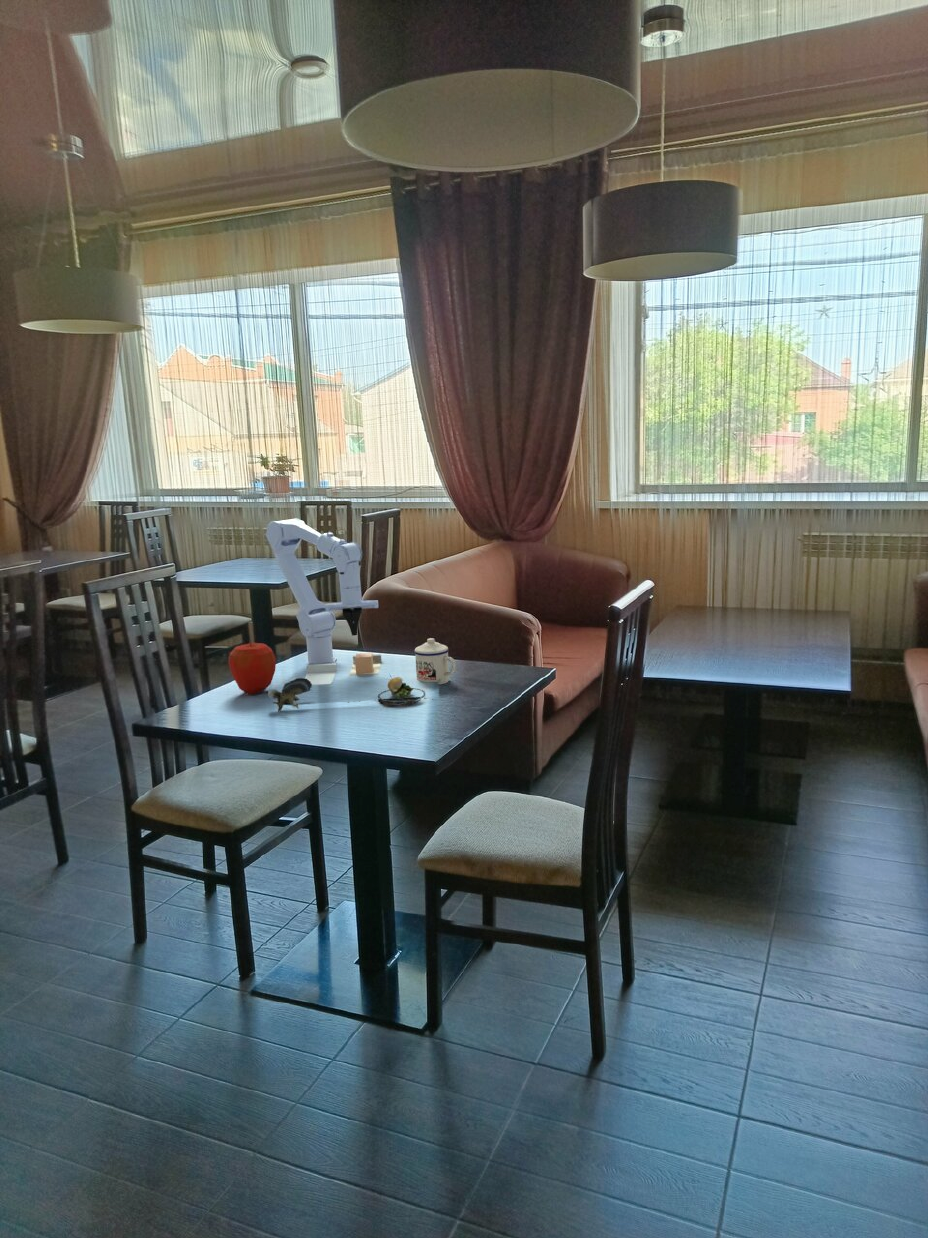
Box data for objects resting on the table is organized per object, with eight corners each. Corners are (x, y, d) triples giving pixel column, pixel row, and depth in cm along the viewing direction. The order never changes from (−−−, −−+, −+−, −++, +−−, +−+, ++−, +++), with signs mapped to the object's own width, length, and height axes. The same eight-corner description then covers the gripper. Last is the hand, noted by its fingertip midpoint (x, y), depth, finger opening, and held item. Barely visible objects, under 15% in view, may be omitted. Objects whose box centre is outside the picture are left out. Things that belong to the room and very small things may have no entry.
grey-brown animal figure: (298, 709, 208) (319, 691, 216) (278, 684, 207) (301, 667, 216) (278, 723, 212) (300, 705, 221) (259, 698, 212) (281, 681, 220)
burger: (418, 708, 209) (417, 678, 208) (371, 707, 212) (369, 678, 210) (430, 694, 221) (428, 665, 219) (385, 693, 223) (383, 665, 222)
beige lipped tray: (353, 665, 251) (353, 655, 250) (381, 664, 251) (381, 654, 250) (349, 678, 237) (348, 668, 236) (378, 677, 237) (378, 666, 237)
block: (357, 669, 242) (356, 653, 242) (373, 668, 243) (372, 652, 242) (356, 673, 238) (354, 657, 237) (372, 672, 238) (371, 656, 237)
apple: (272, 698, 223) (267, 644, 220) (226, 700, 223) (220, 646, 220) (283, 685, 235) (278, 634, 232) (239, 686, 235) (234, 636, 232)
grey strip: (308, 675, 243) (307, 664, 242) (337, 673, 243) (336, 663, 242) (301, 689, 229) (300, 678, 228) (331, 687, 229) (330, 676, 229)
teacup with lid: (409, 683, 230) (406, 641, 228) (429, 675, 237) (427, 633, 235) (445, 689, 223) (443, 645, 221) (466, 680, 230) (463, 637, 228)
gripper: (322, 591, 237) (327, 639, 240) (375, 587, 237) (379, 635, 240) (325, 587, 244) (330, 634, 247) (377, 583, 244) (381, 630, 247)
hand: (354, 634), depth 244 cm, fingers closed
